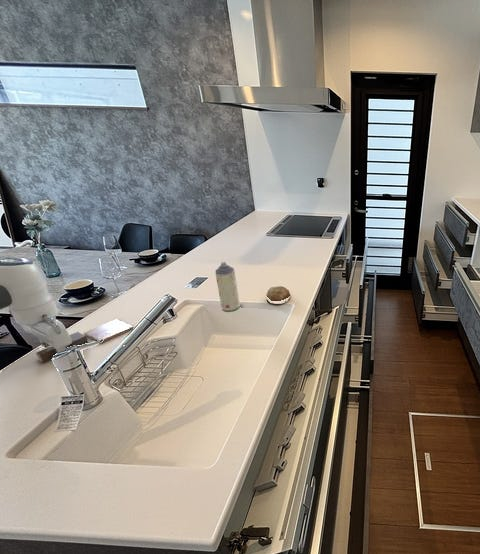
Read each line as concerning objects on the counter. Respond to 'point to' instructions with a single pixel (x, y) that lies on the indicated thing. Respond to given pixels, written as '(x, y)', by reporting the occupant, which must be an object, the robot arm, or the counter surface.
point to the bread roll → (278, 293)
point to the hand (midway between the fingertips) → (54, 350)
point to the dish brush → (76, 340)
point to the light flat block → (108, 330)
